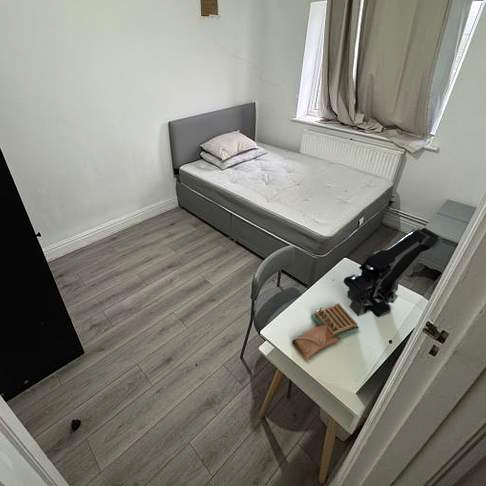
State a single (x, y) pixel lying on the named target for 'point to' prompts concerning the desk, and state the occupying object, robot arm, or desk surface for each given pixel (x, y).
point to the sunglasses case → (314, 341)
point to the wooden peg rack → (336, 320)
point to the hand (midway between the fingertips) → (360, 307)
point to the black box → (358, 308)
